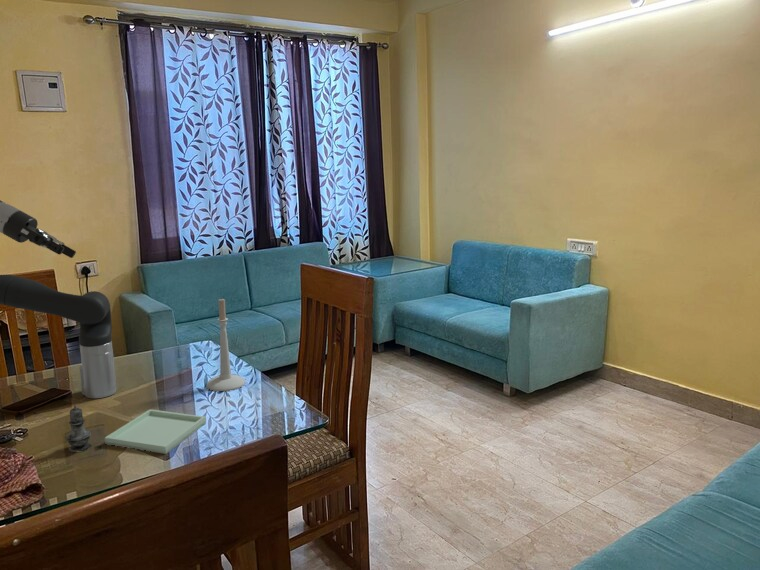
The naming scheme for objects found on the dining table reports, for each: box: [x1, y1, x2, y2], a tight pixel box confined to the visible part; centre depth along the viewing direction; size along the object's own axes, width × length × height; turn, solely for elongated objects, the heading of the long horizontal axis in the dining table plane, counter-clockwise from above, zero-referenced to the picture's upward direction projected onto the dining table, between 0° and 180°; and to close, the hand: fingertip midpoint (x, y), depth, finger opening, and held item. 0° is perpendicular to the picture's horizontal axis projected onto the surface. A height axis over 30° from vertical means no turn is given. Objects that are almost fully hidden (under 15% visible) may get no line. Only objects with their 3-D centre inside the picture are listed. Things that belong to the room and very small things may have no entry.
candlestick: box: [206, 297, 247, 392], centre depth 190 cm, size 13×13×30 cm
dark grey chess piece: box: [65, 404, 92, 453], centre depth 148 cm, size 6×6×12 cm
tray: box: [104, 408, 207, 455], centre depth 157 cm, size 19×19×2 cm
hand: (68, 253), depth 153 cm, fingers open, 8 cm apart
